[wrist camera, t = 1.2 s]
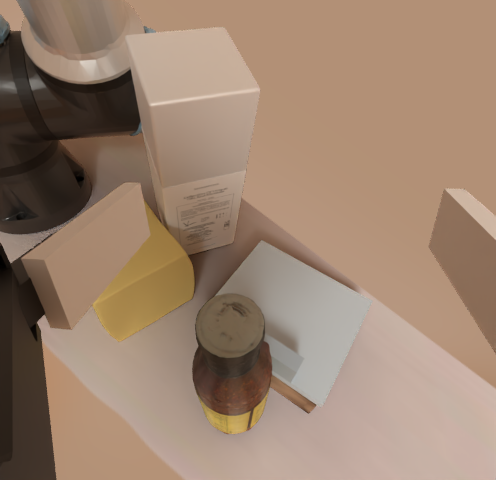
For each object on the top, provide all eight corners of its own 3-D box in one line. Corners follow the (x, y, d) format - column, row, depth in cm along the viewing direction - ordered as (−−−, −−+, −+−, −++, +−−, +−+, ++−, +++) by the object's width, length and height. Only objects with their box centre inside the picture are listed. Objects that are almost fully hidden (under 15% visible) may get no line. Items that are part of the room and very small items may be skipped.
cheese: (82, 283, 42) (50, 233, 34) (159, 245, 47) (147, 193, 39) (117, 349, 37) (89, 308, 30) (199, 299, 42) (194, 252, 34)
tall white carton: (214, 195, 51) (225, 25, 30) (234, 243, 48) (262, 88, 26) (157, 208, 49) (123, 33, 27) (173, 260, 45) (148, 105, 24)
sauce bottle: (247, 362, 37) (262, 258, 22) (274, 418, 34) (315, 341, 19) (191, 389, 35) (165, 295, 20) (214, 451, 32) (204, 397, 16)
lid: (196, 322, 36) (193, 304, 33) (260, 244, 43) (264, 223, 40) (320, 407, 31) (332, 396, 28) (369, 305, 38) (383, 286, 35)
